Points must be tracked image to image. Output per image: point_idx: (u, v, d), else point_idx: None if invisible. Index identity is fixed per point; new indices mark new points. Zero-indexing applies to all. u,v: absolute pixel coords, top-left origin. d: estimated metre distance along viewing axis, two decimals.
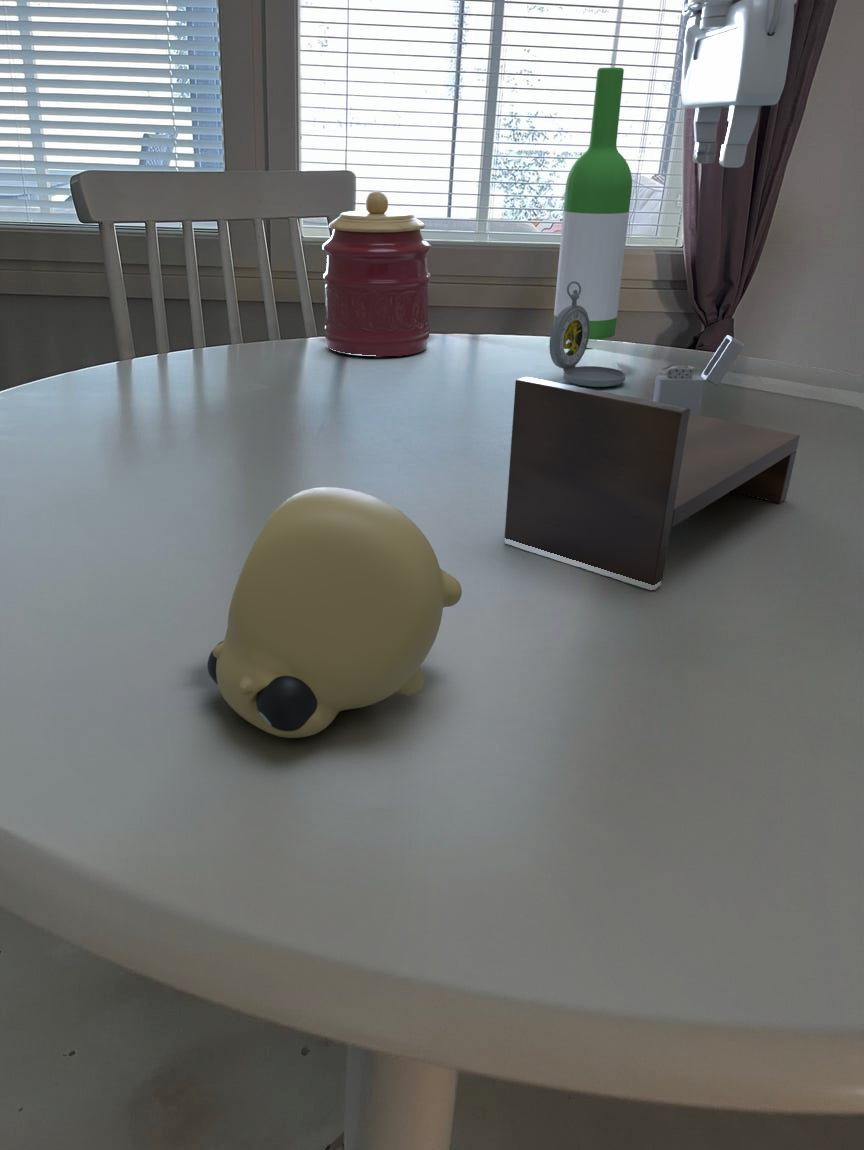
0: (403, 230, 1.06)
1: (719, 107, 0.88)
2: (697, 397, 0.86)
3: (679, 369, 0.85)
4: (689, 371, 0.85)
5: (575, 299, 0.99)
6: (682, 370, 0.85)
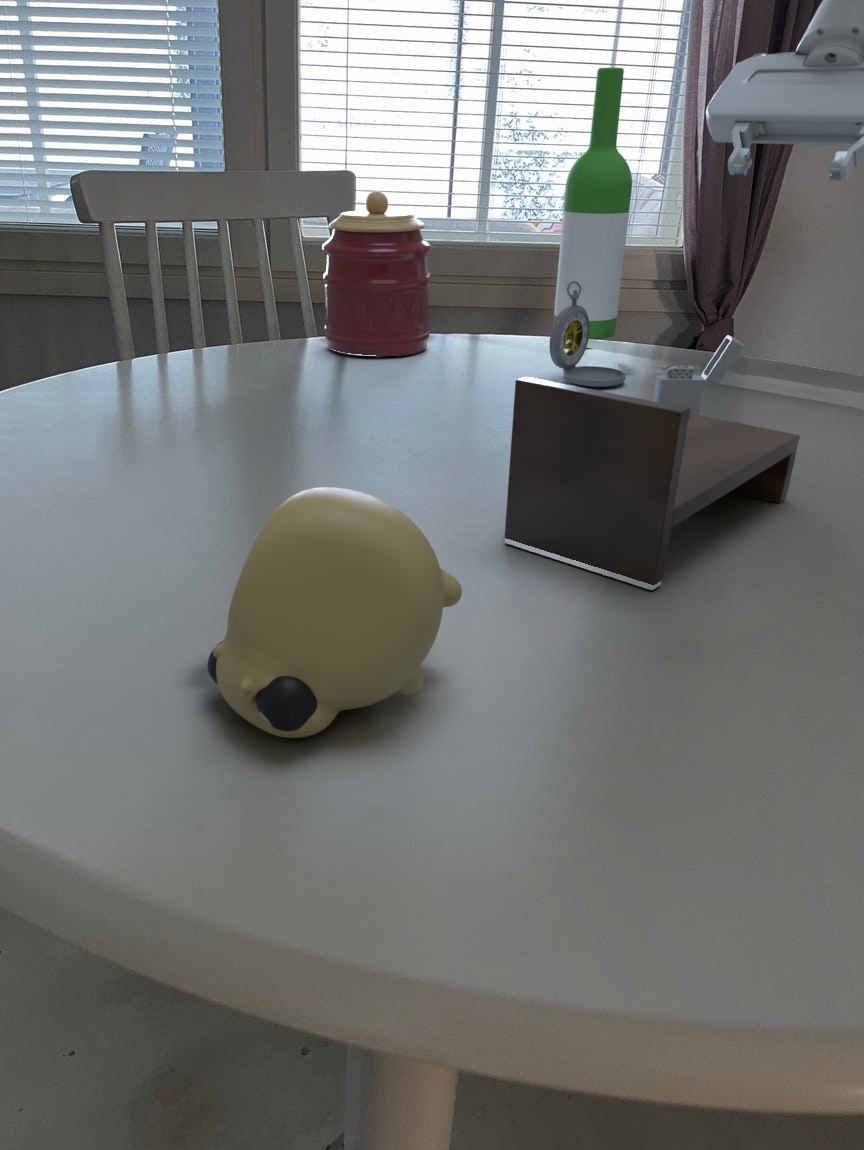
0: (403, 230, 1.06)
1: None
2: (697, 397, 0.86)
3: (679, 369, 0.85)
4: (689, 371, 0.85)
5: (575, 299, 0.99)
6: (682, 370, 0.85)
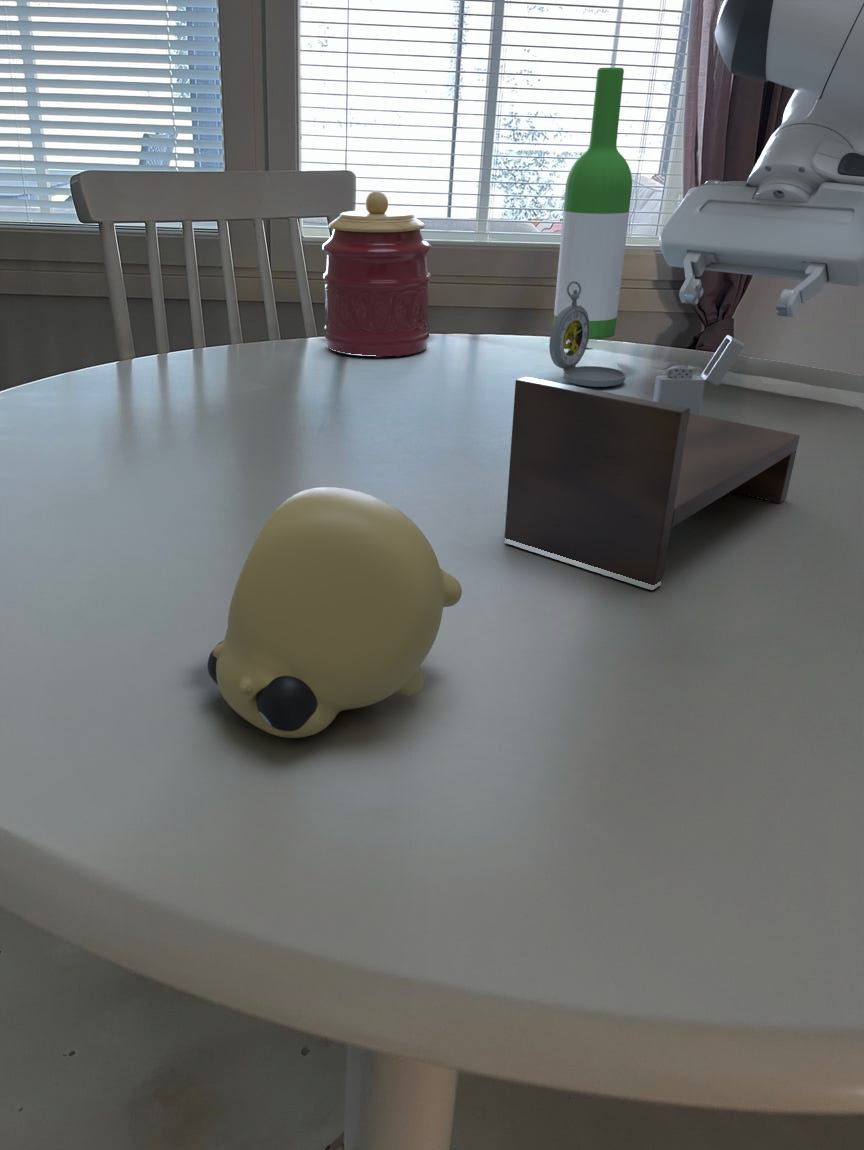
0: (403, 230, 1.06)
1: None
2: (697, 397, 0.86)
3: (679, 369, 0.85)
4: (689, 371, 0.85)
5: (575, 299, 0.99)
6: (682, 370, 0.85)
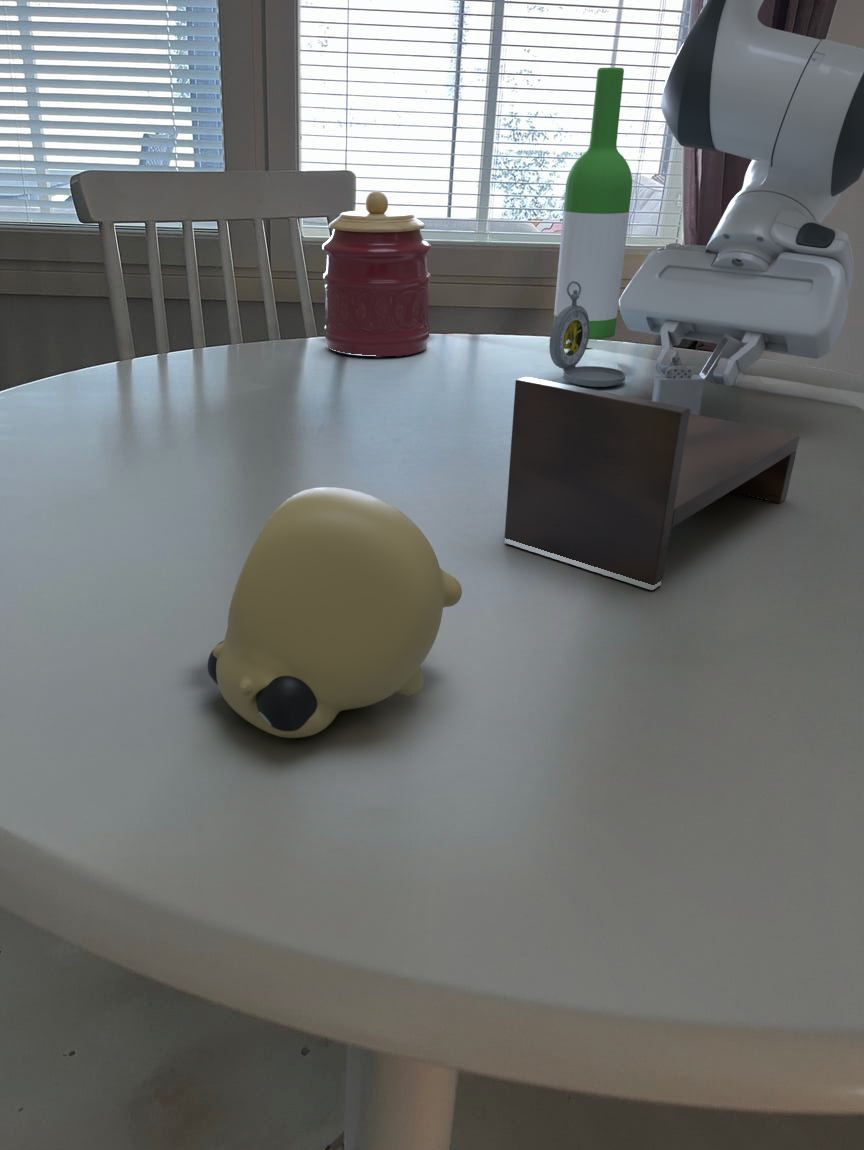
0: (403, 230, 1.06)
1: None
2: (696, 396, 0.86)
3: (678, 369, 0.85)
4: (688, 371, 0.85)
5: (575, 299, 0.99)
6: (681, 370, 0.85)
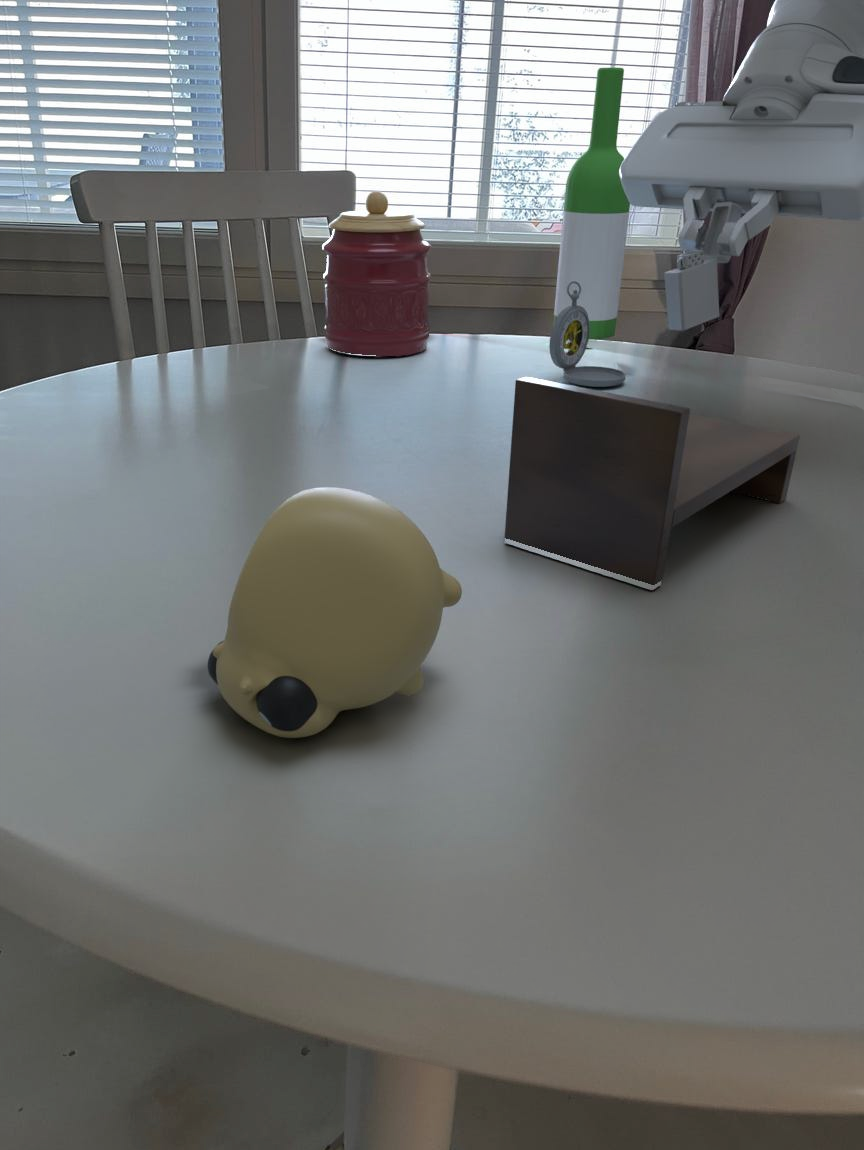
0: (403, 230, 1.06)
1: None
2: (714, 282, 0.72)
3: (691, 255, 0.71)
4: (700, 254, 0.71)
5: (575, 299, 0.99)
6: (694, 255, 0.71)
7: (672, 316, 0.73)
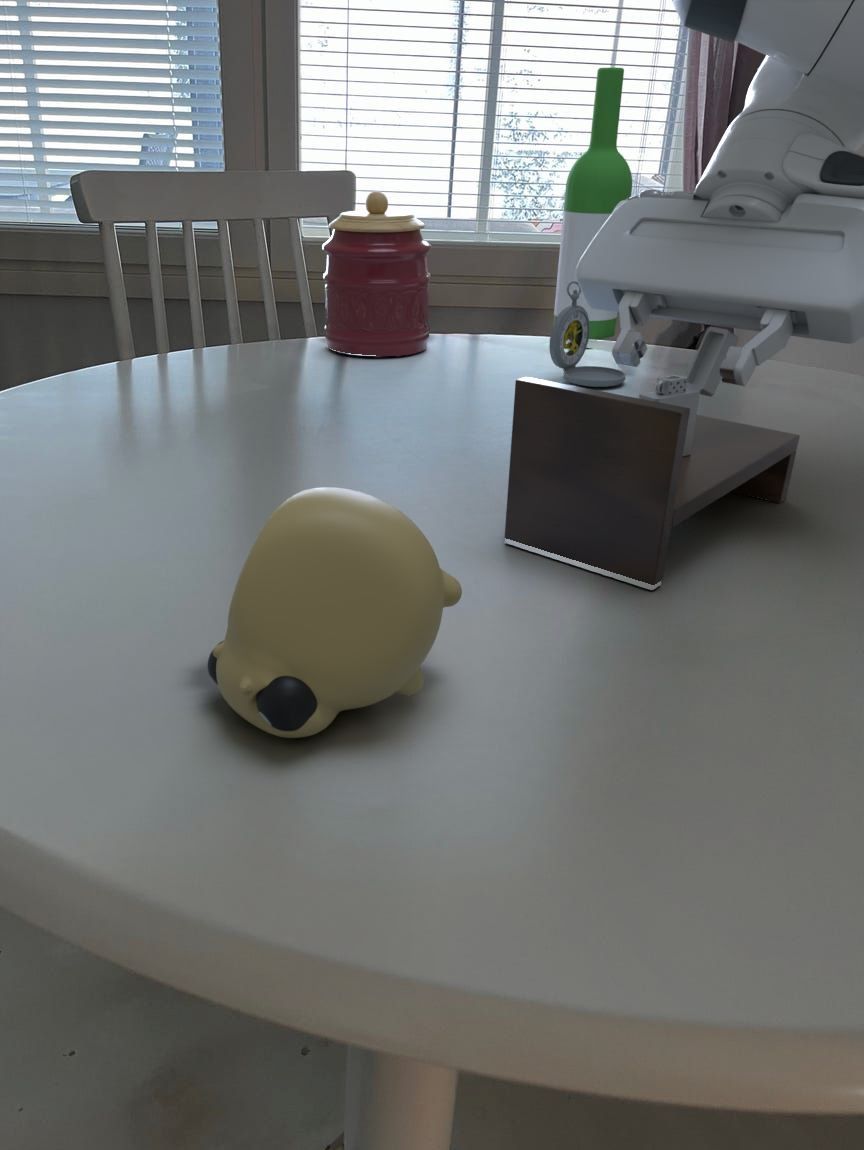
0: (403, 230, 1.06)
1: None
2: (693, 415, 0.62)
3: (674, 381, 0.61)
4: (683, 382, 0.61)
5: (575, 299, 0.99)
6: (677, 382, 0.61)
7: None
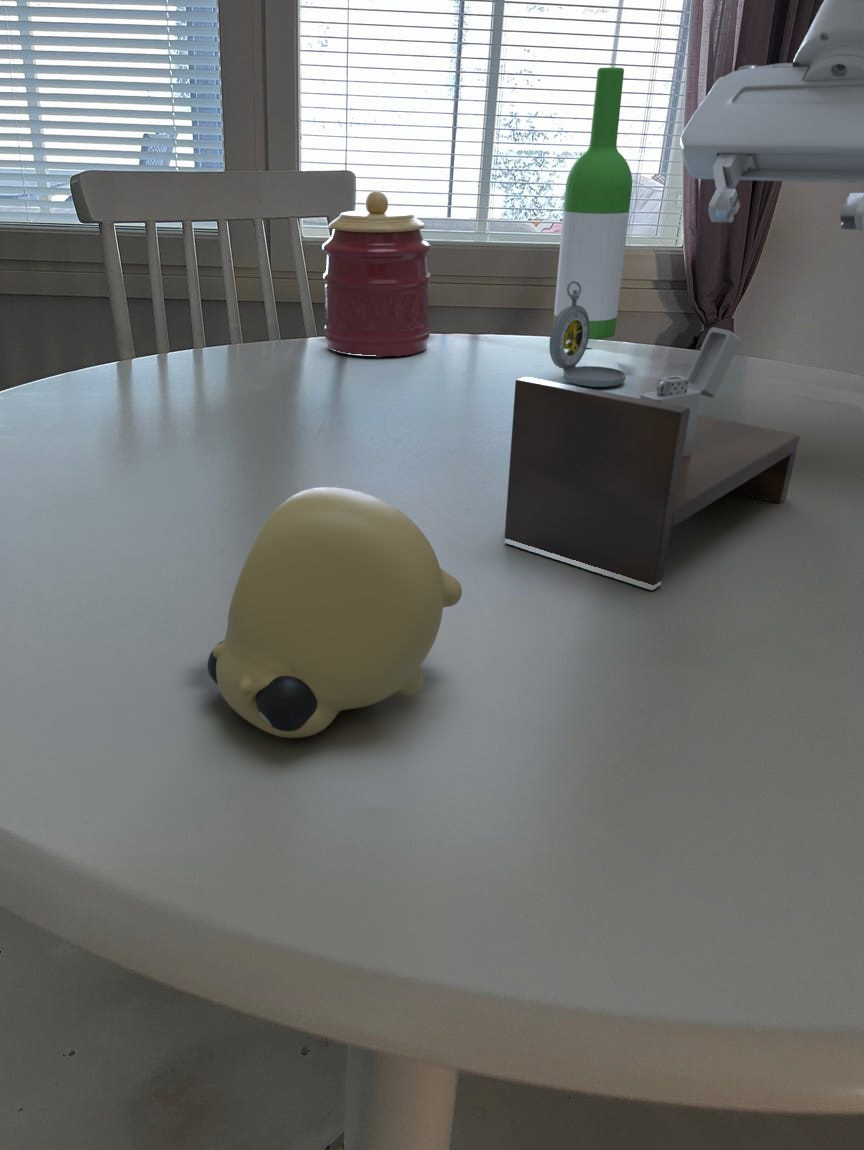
0: (403, 230, 1.06)
1: None
2: (693, 416, 0.62)
3: (675, 382, 0.61)
4: (685, 383, 0.61)
5: (575, 299, 0.99)
6: (678, 383, 0.61)
7: None
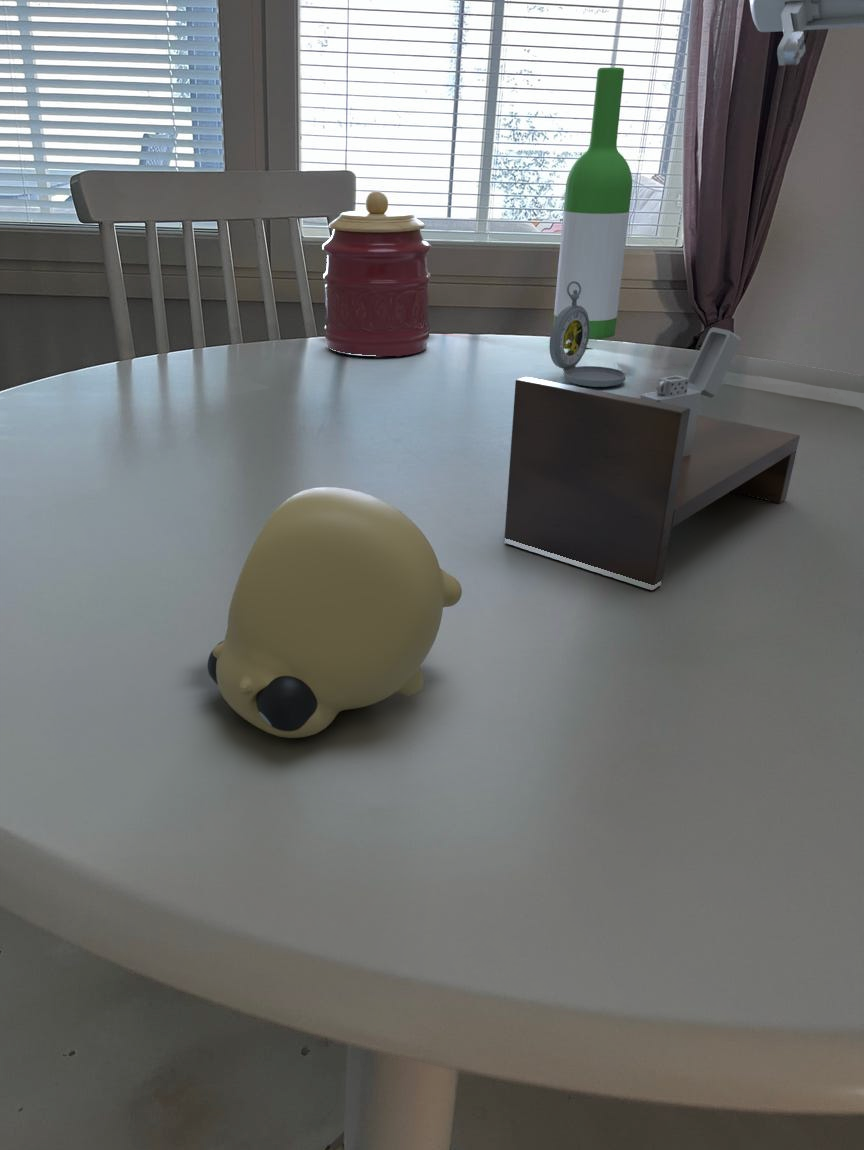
0: (403, 230, 1.06)
1: None
2: (693, 416, 0.62)
3: (675, 382, 0.61)
4: (685, 383, 0.61)
5: (575, 299, 0.99)
6: (678, 383, 0.61)
7: None
